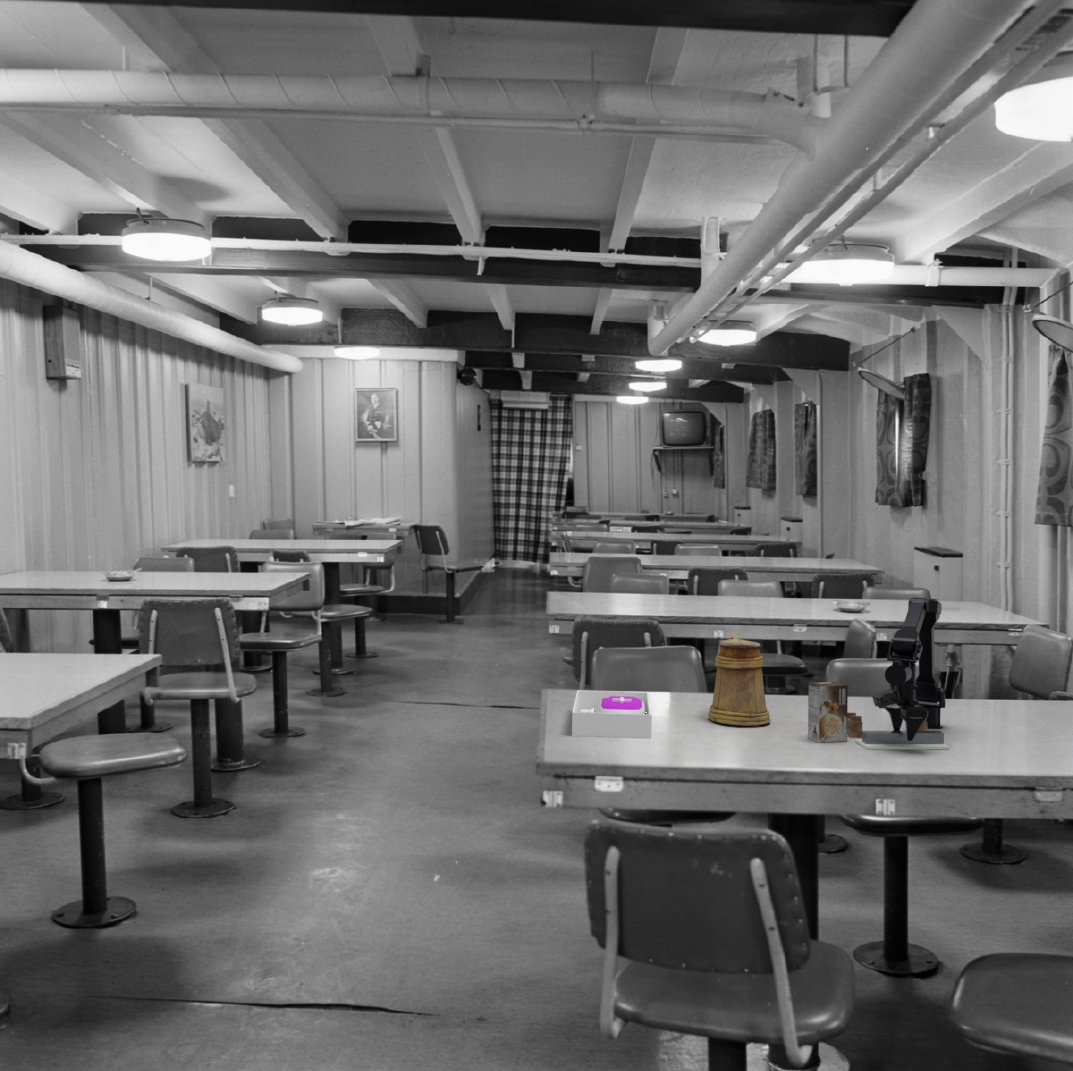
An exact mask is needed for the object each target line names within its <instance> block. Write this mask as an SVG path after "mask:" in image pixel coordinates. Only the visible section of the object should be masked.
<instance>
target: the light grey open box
mask: <svg viewBox="0 0 1073 1071" xmlns="http://www.w3.org/2000/svg"><path fill="white" fill-rule="evenodd" d="M650 702H651V701H650V695H649V692H647V691H618V690H617V691H616V690H615V691H612V690H610V691H609V690H580V689H579V690H578V689H577V690H576V695H575V698H574V703H573V708H572V714H571V715H572V717H571V737H591V736H609V737H608V738H623V737H624V738H630V739H652V727H653V726H652V719H653V718H652V717H653V716H652V714H653V713H652V707H651V703H650ZM578 710H579V712H578ZM594 710H598V712H594ZM645 712H647V714H645Z"/></svg>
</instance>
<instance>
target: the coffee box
mask: <svg viewBox="0 0 1073 1071" xmlns="http://www.w3.org/2000/svg"><path fill="white" fill-rule="evenodd" d="M848 688H849V687H848V684H846V683H842V682H839V681H817V682H816V681H815V682H808V696H807V698H808V699H807V701H808V704H807V706H808V707H807V714H808V715H807V716H808V717H807V720H808V721H807V738H808V739H809V740H812V741H814V742H816V743H819V744H820V743H821V744H823V743H835V742H836V743H837V742H848V735H847V712H848V705H849V704H848V701H849V700H848V696H849V695H848V691H849V690H848Z"/></svg>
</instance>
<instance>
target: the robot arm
mask: <svg viewBox="0 0 1073 1071" xmlns="http://www.w3.org/2000/svg"><path fill="white" fill-rule="evenodd" d="M907 606H908V607H907V612H906V615H905V618H904V621H903V625H902V627H901V628H899V629H898V630H896V631H895V632H894V635H893V636H892V638H890V641H889V646H888V651H887V654H886V656H887V657H886V661H888V662H892V664H891V665H889V666H888V667H887V668H886V670H885V671H884V678H885V680H886V682H887V683H888V684H889V689H884V690H882V691H879V692H876V693H873V694H871V698H872V701H873V704H874V706H875V707H878V709H884V710H885V711H886V712H887V713H888V714H889V719H890V722H891V726H892V729H893V730H892V731H901V729H902V724H903V722H905V728H906V729H905V731H907V739H908V741H912V740H913V738H914V736H915V734H916V733H917V731H918V729H919V727H920V726H921V724H922V723H923V721H924V720H926V718H927V721H926V722H928V723H927V729H943V726H942V725H941V709H946V703H947V702H946V696H945V692H944V690H943V687H942V683H941V681H942V680H941V679H940V678H939V676H938V675H937V674H936V671H935V670H936V667H935V665H936V663H935V659H936V658H935V657H936V656H935V625H936V623H937V622H938V621H939V619H940V615H941V614H942V610H943V609H942V606H943V605H942V603H941V601H938V599H937V598H930V597H929V598H927V597H910V598H909V599H908V604H907ZM917 663H918V676H917V675H916V674H917V673H916V672H917V665H916V664H917ZM916 677H917V678H916Z"/></svg>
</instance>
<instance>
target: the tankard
mask: <svg viewBox="0 0 1073 1071" xmlns="http://www.w3.org/2000/svg"><path fill="white" fill-rule="evenodd" d="M718 645H719V651H718V654H717V655H716V658H715V662H714V663H715V664H714V666H716V675H715V676H716V677H715V682H714V690H713V696H712V704H711V705H710V706H709V711H708V717H709V720H711V722H713V723H718V724H723V725H729V726H730V725H731V726H762V725H767V724H769V723H771V719H770V715H771V714H770V711H769V709H768V708H767V703H766V702H767V701H766V695H765V686H764V677H763V675H764V674H763V668H762V667H763V666H764V663H763V662H764V659H763V656H762V655H761V652H760V651H761V650H760V648H761V643H759V642H757V641H750V640H745V639H741V638H739V637H738V635H737V634H732V635H731V638H727V639H724V640H721V641H720V642H719V644H718Z"/></svg>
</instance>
